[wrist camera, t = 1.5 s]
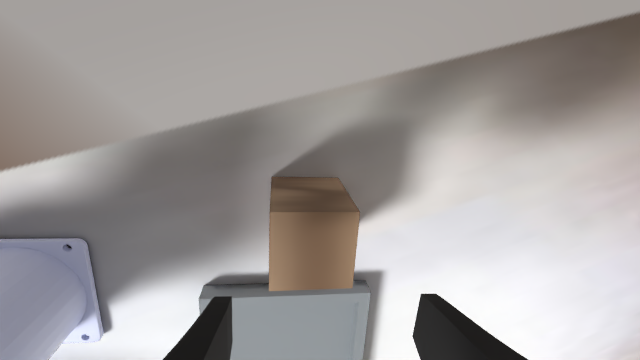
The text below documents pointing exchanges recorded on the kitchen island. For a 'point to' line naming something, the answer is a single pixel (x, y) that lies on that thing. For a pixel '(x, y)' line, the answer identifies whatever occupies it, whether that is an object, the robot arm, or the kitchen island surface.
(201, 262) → the kitchen island surface
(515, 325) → the kitchen island surface
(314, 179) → the walnut block
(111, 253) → the kitchen island surface
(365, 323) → the grey tray
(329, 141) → the kitchen island surface
